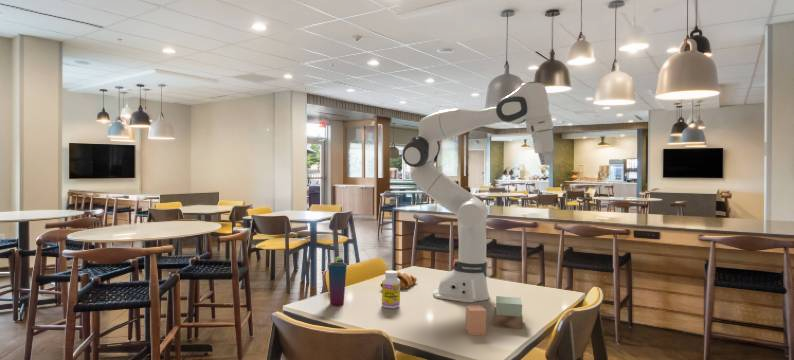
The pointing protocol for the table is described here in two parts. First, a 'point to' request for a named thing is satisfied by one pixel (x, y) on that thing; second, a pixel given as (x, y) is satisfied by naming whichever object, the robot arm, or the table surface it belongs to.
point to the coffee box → (338, 259)
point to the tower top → (508, 306)
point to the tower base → (507, 321)
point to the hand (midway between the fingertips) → (546, 165)
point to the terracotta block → (475, 320)
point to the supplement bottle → (391, 290)
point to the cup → (337, 282)
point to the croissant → (405, 280)
